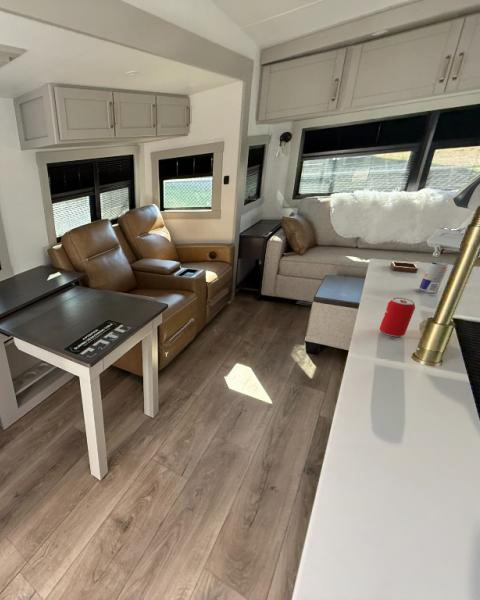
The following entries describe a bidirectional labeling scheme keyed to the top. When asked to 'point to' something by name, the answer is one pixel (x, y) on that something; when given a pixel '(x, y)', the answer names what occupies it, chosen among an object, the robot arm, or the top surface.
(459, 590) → the top surface
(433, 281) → the energy drink
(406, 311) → the beverage can
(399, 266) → the serving tray
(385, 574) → the top surface
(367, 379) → the top surface
